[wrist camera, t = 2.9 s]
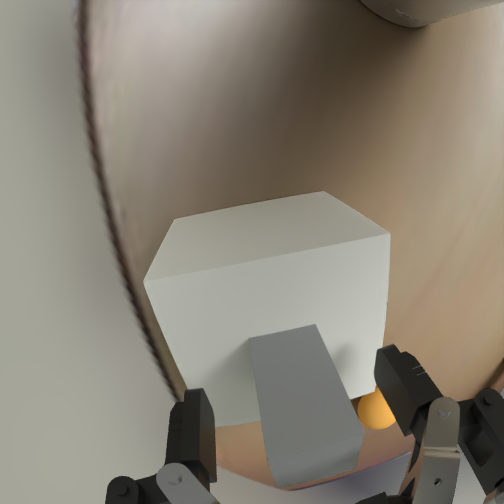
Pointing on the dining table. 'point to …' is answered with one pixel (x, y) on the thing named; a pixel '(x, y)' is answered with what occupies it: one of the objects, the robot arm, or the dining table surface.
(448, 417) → the robot arm
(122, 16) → the dining table surface
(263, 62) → the dining table surface
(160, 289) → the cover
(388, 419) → the ball
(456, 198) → the dining table surface
